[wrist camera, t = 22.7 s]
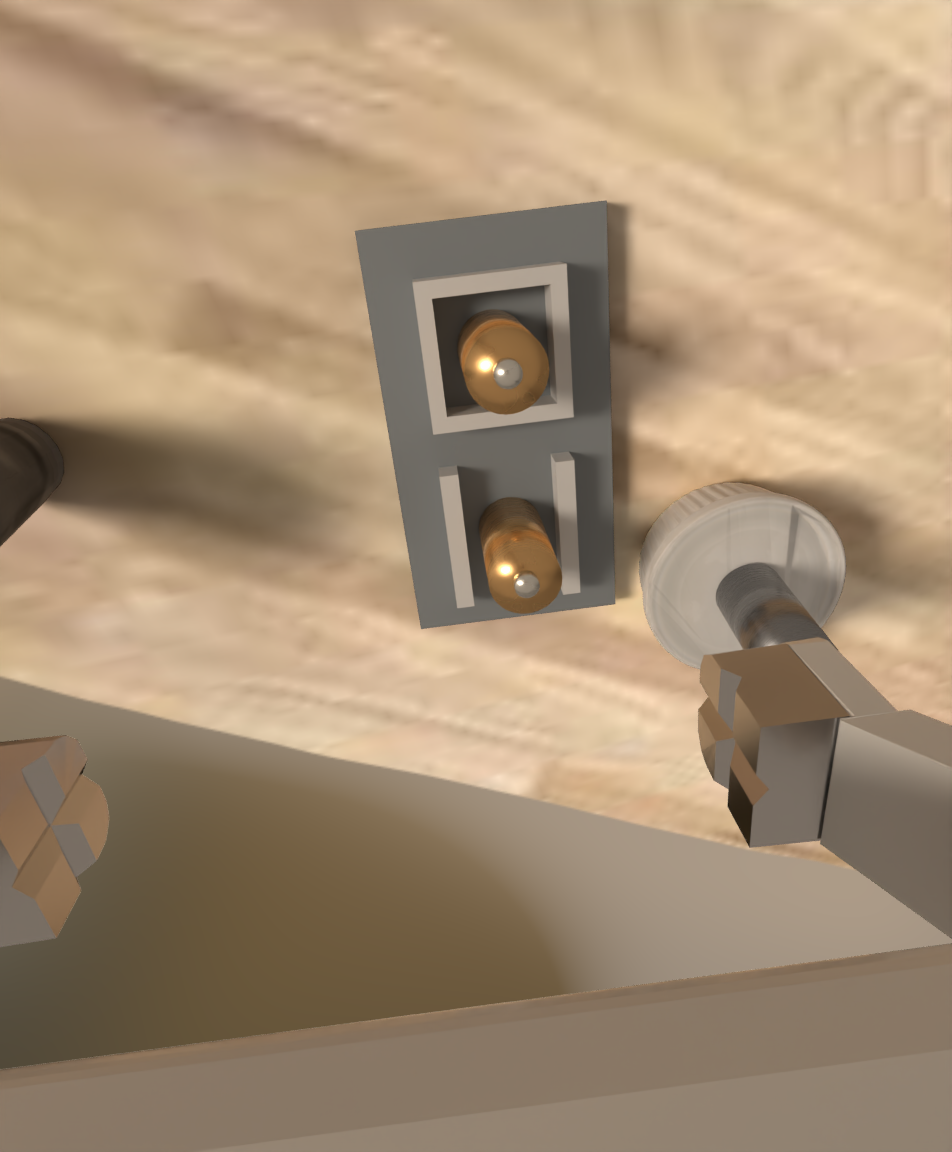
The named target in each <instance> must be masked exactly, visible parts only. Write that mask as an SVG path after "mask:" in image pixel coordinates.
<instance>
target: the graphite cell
mask: <svg viewBox="0 0 952 1152" xmlns="http://www.w3.org/2000/svg"><path fill="white" fill-rule="evenodd" d="M716 603H717V606H718V608H719V610H720V611H721V613H722V615H723V616H724V618H725V620H726V621H727V623H728V625H729V627H730V628H731V630H732V632H733V633H734V635H735V637H736V638H737V640H738V642H739V644H740V645H741V647H742V649H750V648H757V647H764V646H771V645H779V644H781V643H785V642H792V641H798V640H804V639H811V638H817V637H820V638H823V639H825V640H828V641H829V642H830V643H831V644H832V645H833V646H834V644H833V643H832V642H831V640H830V639H829V638H828V637H827V635H826V634H825V633H824V632H823V630H822V629H821V628H820V627H819V625H818V624H817V623H816V622H815V620H814V619H813V618H812V616H811V615H810V614H809V613H808V611H807V610H806V609H805V608H804V606H803V605H802V604H801V603H800V601H799V600H798V599H797V597H796V596H795V595H794V594H793V592H792V591H791V590H790V589H789V587H788V586H787V585H786V584H785V582H784V581H783V580H782V578H781V577H780V576H779V575H778V573H777V572H776V571H775V570H774V569H772V568H771V567H769V566H766V565H763V564H748V565H744V566H741V567H738V568H736V569H734V570H733V571H731V572H730V573H728V574H727V575H726V576H725V577H724V578H723V579H722V581H721V582H720V584H719V586H718V588H717V591H716ZM834 647H835V646H834ZM835 648H836V647H835ZM836 649H837V648H836ZM837 650H838V649H837Z"/></svg>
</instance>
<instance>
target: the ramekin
mask: <svg viewBox="0 0 952 1152" xmlns="http://www.w3.org/2000/svg"><path fill="white" fill-rule="evenodd" d="M748 564H763V565H766V566H769V567H771V568H772V569H774V570H775V571H776V572H777V573H778V575H779V576H780V577H781V578H782V580H783V581H784V582H785V584H786V585H787V586H788V587H789V589H790V590H791V591H792V592H793V594H794V595H795V596H796V597H797V599H798V600H799V601H800V603H801V604H802V605H803V606H804V608H805V609H806V610H807V611H808V613H809V614H810V615H811V616H812V618H813V619H814V620H815V622H816V623H817V624H818V625H819V627H820V628H822V626H823V625H824V624H825V623H826V621H827V620H828V618H829V617H830V615H831V614H832V612H833V611H834V609H835V607H836V605H837V603H838V600H839V598H840V595H841V593H842V589H843V585H844V581H845V575H846V556H845V551H844V547H843V544H842V541H841V538H840V536H839V535H838V533H837V531H836V529H835V528H834V526H833V525H832V524H831V522H830V521H829V520H828V519H827V518H826V517H825V516H824V515H823V514H821V513H820V512H819V511H818V510H816V509H815V508H814V507H812V506H811V505H809V504H807V503H805V502H804V501H802V500H799V499H797V498H795V497H791V496H788V495H785V494H780V493H774V492H772V491H769V490H767V489H764V488H761V487H758V486H754V485H751V484H743V483H729V482H727V483H722V484H714V485H710V486H705V487H702V488H700V489H696V490H693V491H692V492H690V493H689V494H686V495H684V496H683V497H681V498H680V499H679V500H677V501H675V502H674V503H673V504H672V505H671V506H669V507H668V508H667V509H665V511H664V512H663V513H662V514H661V515H660V516H659V517H658V518H657V520H656V521H655V522H654V523H653V525H652V527H651V529H650V530H649V532H648V533H647V536H646V539H645V541H644V543H643V547H642V550H641V553H640V561H639V576H640V583H641V587H642V591H643V606H644V612H645V615H646V618H647V621H648V624H649V626H650V628H651V630H652V632H653V634H654V636H655V637H656V639H657V640H658V642H659V643H660V644H661V645H662V647H663V648H664V649H665V650H666V651H667V652H668V653H670V654H671V655H672V656H673V657H675V658H676V659H678V660H679V661H681V662H682V663H684V664H686V665H688V666H691V667H694V668H697V669H700V666H701V662H702V659H703V656H704V655H707V654H714V653H721V652H729V651H736V650H743V649H742V647H741V645H740V644H739V642H738V640H737V638H736V637H735V635H734V633H733V632H732V630H731V628H730V627H729V625H728V623H727V621H726V620H725V618H724V616H723V615H722V613H721V611H720V610H719V608H718V606H717V603H716V591H717V588H718V586H719V584H720V582H721V581H722V579H723V578H724V577H725V576H726V575H727V574H728V573H730V572H731V571H733V570H734V569H736V568H738V567H741V566H744V565H748Z"/></svg>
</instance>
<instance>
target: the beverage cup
mask: <svg viewBox="0 0 952 1152" xmlns="http://www.w3.org/2000/svg"><path fill="white" fill-rule="evenodd" d="M63 473H64V468H63V458H62V456H61V454H60V451H59V449H58V447H57V445H56V444H55V443H54V442H53V440H52V439H51V438H50V436H49V435H48V434H46V433H45V432H44V431H42V430H41V429H40V428H38V427H37V426H35V425H33V424H31V423H28V422H26V421H24V420H19V419H12V418H4V419H0V546H1V545H2V544H3V543H4V542H5V541H6V540H7V539H8V538H9V537H10V536H11V535H12V534H13V533H14V532H15V531H16V530H17V529H18V528H19V527H20V526H21V525H22V524H23V523H24V522H25V521H26V520H27V519H28V518H29V517H30V516H31V515H32V514H33V513H34V512H35V511H36V510H37V509H38V508H39V507H40V506H41V505H42V504H43V503H44V502H45V501H46V499H47V498H48V497H49V496H50V495H51V493H52V492H53V491H54V490H55V489H56V487H57V486H58V485H59V484H60V483H61V479H62V476H63Z"/></svg>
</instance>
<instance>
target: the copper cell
mask: <svg viewBox="0 0 952 1152" xmlns="http://www.w3.org/2000/svg"><path fill="white" fill-rule="evenodd" d="M457 352H458V357H459V360H460V364H461V368H462V371H463V375H464V379H465V382H466V386H467V388H468V391H469V393H470V395H471V396H472V398H473V399H474V400H475V401H476V402H477V403H478V404H479V405H480V406H481V407H483V408H484V409H486V410H488V411H490V412H493V413H496V414H504V415H508V414H515V413H518V412H521V411H523V410H525V409H527V408H529V407H530V406H532V405H533V404H534V403H535V402H536V401H537V400H538V399H539V398H540V396H541V395H542V393H543V392H544V390H545V388H546V385H547V382H548V378H549V361H548V357H547V354H546V352H545V350H544V348H543V346H542V345H541V343H540V342H539V341H538V340H537V339H536V338H535V337H534V336H533V335H532V334H531V333H530V332H529V331H528V330H527V329H526V328H525V327H524V326H523V325H522V324H521V323H520V322H519V321H518V320H517V319H516V318H515V317H514V316H512V315H511V314H509V313H507V312H505V311H502V310H498V309H488V310H484V311H481V312H478V313H476V314H475V315H473V316H472V317H470V318H469V319H468V320H467V321H466V323H465V324H464V325H463V327H462V329H461V331H460V333H459V337H458V342H457Z"/></svg>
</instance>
